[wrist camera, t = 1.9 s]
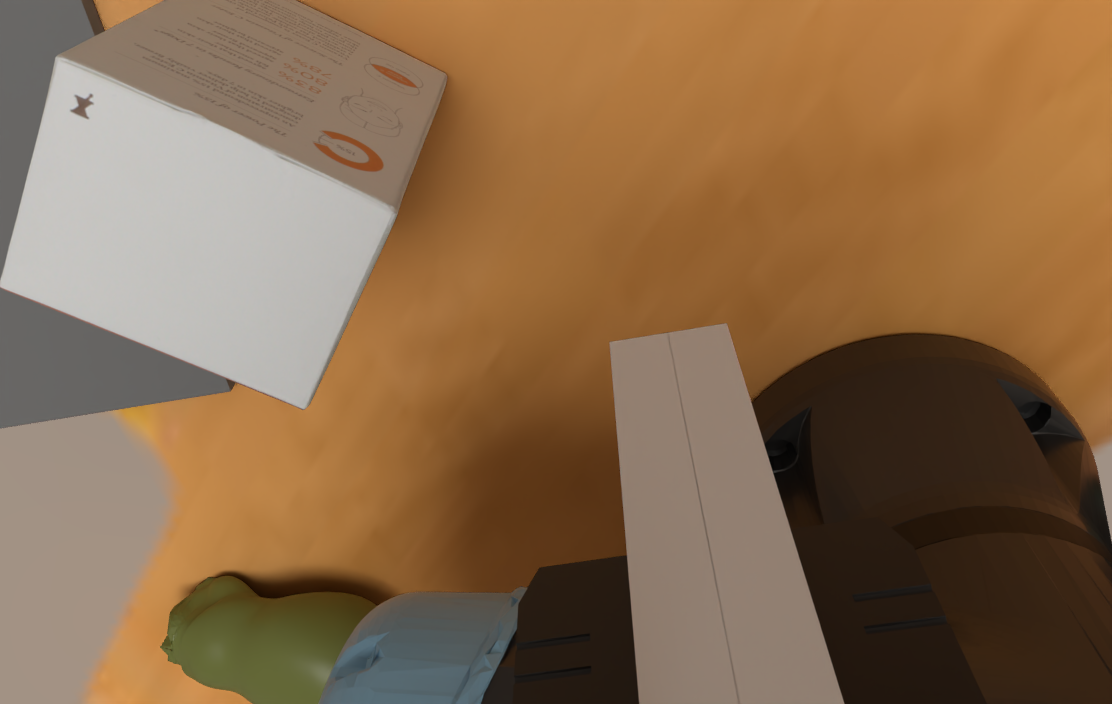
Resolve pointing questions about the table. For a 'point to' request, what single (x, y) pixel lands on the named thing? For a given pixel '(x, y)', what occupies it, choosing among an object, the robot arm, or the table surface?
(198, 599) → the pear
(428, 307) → the table surface
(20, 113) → the mat
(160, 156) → the small box
